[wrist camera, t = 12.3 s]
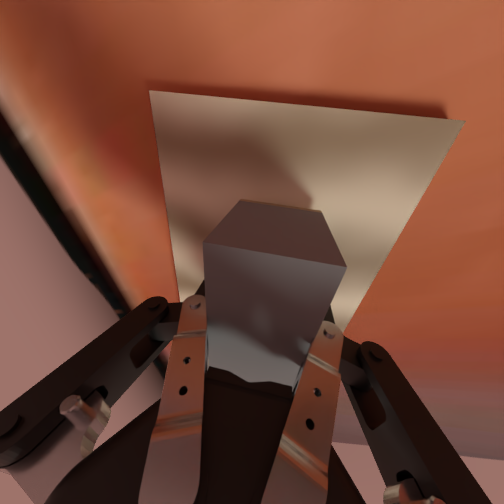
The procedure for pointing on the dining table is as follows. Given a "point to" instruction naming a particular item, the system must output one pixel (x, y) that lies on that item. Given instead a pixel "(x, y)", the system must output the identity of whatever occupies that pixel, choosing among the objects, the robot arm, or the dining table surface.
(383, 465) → the robot arm
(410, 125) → the plywood board
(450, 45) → the dining table surface
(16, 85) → the dining table surface
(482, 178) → the dining table surface
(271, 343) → the block
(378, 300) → the dining table surface
